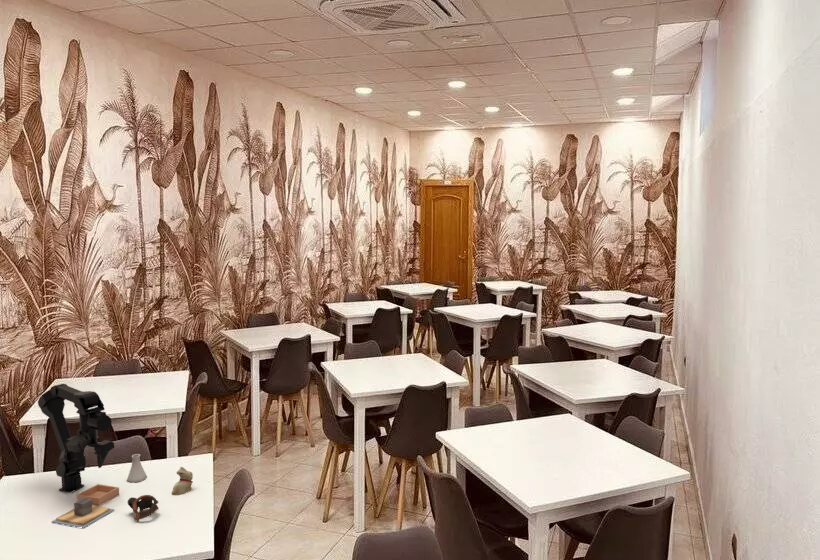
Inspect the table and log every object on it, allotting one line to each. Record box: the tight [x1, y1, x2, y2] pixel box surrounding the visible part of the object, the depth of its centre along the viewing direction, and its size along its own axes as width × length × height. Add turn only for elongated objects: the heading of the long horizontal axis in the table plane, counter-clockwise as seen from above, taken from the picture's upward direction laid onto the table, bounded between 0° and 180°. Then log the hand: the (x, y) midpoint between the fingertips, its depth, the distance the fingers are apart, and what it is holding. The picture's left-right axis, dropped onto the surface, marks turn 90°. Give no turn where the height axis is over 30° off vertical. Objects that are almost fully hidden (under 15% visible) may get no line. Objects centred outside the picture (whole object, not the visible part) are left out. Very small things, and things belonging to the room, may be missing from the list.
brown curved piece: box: [127, 494, 160, 522], centre depth 221 cm, size 12×10×8 cm
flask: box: [126, 453, 148, 483], centre depth 251 cm, size 7×7×10 cm
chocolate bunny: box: [171, 466, 194, 496], centre depth 240 cm, size 6×8×10 cm
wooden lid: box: [55, 498, 111, 526], centre depth 220 cm, size 12×12×5 cm
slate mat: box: [51, 508, 115, 529], centre depth 220 cm, size 14×14×1 cm
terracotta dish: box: [76, 483, 120, 506], centre depth 234 cm, size 10×10×3 cm
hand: (90, 466), depth 235 cm, fingers open, 9 cm apart
